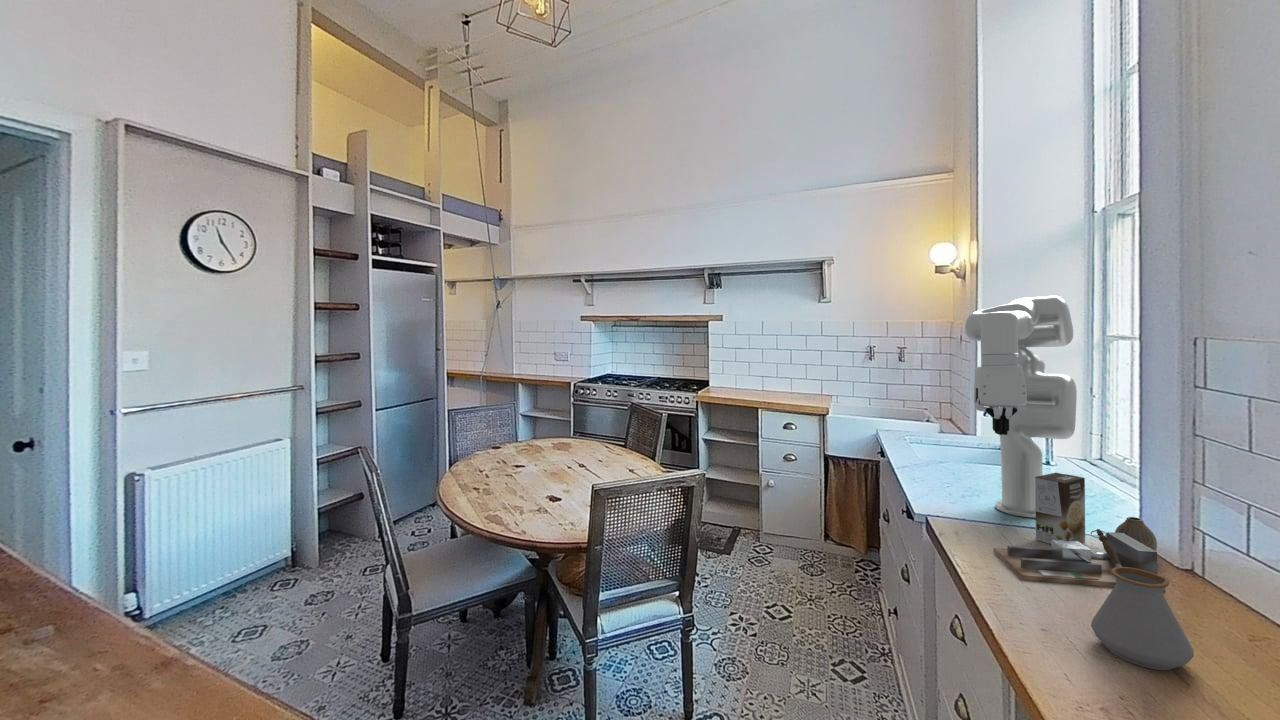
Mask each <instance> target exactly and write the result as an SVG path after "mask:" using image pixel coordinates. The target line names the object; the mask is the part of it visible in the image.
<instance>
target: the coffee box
mask: <svg viewBox="0 0 1280 720" xmlns="http://www.w3.org/2000/svg"><path fill="white" fill-rule="evenodd" d="M1085 479H1086V477H1082V476H1078V475H1074V474H1073V475H1072V474H1067V473H1066V474H1065V473H1060V472H1053V473H1052V472H1051V473H1047V474H1043V475H1042V476H1037V477H1035V511H1036V518H1035V540H1037V541H1038V542H1042V543H1045V544H1049V545H1052V540H1062V541H1079V542H1080V543H1082V544H1083V543H1085V542H1086V489H1085V488H1086V484H1085V483H1086V482H1085V481H1086V480H1085Z"/></svg>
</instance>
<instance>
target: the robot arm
mask: <svg viewBox="0 0 1280 720" xmlns="http://www.w3.org/2000/svg"><path fill="white" fill-rule="evenodd" d="M965 321H966V322H965V325H964V330H965V334H966V336H967V338H969V340H970V341H974V342H980V363H981V364H980V366H977V368H976V370H975V377H974V386H973V402H974V403H975V406H974V408H975V410H976V411H979V412H984V413H987V415H989V416H990V417H991V418H992V430H993V431H994V433H995V434H997V435H999V443H1000V467H1001V468H1000V470H1001V471H1000V474H1001V475H1000V478H1001V479H1000V481H1001V500H998V501H996V502H995V508H996V509H997V510H998V511H1000V512H1002V513H1005V514H1008V515H1012V516H1016V517H1017V516H1018V517H1023V518H1032V519H1033V518H1035V519H1036V511H1035V477H1037V476H1042V475H1044V471H1043V470H1044V469H1043V453H1042V450H1041V448H1040V447H1039V446H1038V444H1037V443H1036V442H1035V441H1034V440H1032V438H1041V439H1042V438H1044V439H1053V440H1068V439H1070V438H1071V437H1073V435H1074V434H1075V431H1076V430H1075V429H1076V422H1077V421H1076V419H1077V417H1076V415H1077V399H1078V398H1077V397H1078V396H1077V395H1078V393H1077V391H1078V390H1077V385H1076V382H1075V380H1074V379H1073V378H1072V376H1070V375H1067V374H1062V373H1045V369H1046V367H1045V366H1046V364H1045V362H1044V360H1042V358H1040V356H1038V355H1037V354H1036V353H1034V352H1033V351H1031V350H1030V349H1028V348H1052V347H1054V348H1056V347H1057V348H1058V347H1065V346H1068V345H1070V344H1071V342H1072V340H1073V339H1074V327H1073V322H1072V317H1071V311H1070V309H1069V305H1068V304H1067V302H1066V300H1065V299H1064V298H1063V297H1061V296H1058V295H1048V296H1036V297H1035V296H1033V297H1022V298H1017V299H1014V300H1011V301H1010V302H1009V303H1007V304H1002V305H996V306H994V307H990V308H984V309H980V310H976V311H974V312H972V313H970V314H969V315H968V316H967V318H966V320H965Z"/></svg>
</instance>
